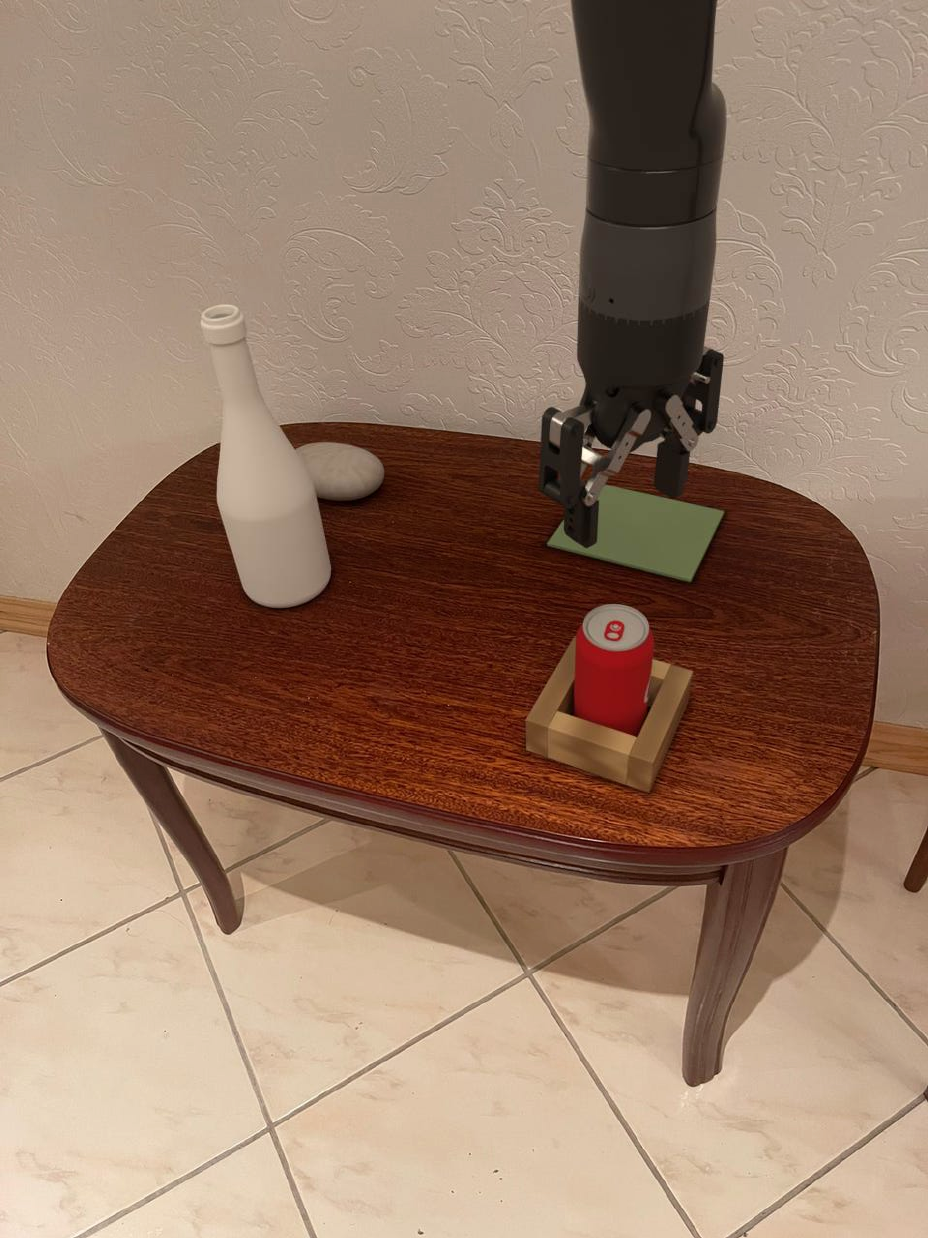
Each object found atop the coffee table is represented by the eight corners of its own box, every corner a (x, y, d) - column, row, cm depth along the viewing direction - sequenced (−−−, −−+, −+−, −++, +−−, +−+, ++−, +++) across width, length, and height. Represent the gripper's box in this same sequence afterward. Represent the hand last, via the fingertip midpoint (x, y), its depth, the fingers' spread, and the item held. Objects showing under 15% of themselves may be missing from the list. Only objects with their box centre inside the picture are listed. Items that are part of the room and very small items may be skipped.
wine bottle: (320, 546, 100) (263, 280, 79) (343, 596, 93) (287, 320, 73) (236, 569, 97) (156, 302, 77) (254, 622, 91) (171, 346, 70)
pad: (724, 513, 100) (724, 510, 99) (690, 582, 91) (691, 579, 91) (590, 483, 105) (590, 480, 105) (547, 545, 97) (547, 543, 97)
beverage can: (650, 707, 79) (663, 607, 71) (637, 760, 75) (648, 660, 67) (582, 693, 81) (586, 593, 73) (565, 744, 77) (567, 644, 68)
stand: (688, 701, 79) (693, 670, 77) (649, 793, 72) (653, 763, 70) (573, 666, 83) (574, 635, 81) (525, 750, 76) (525, 719, 74)
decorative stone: (271, 495, 108) (263, 460, 104) (316, 458, 113) (309, 424, 110) (357, 522, 102) (351, 486, 99) (400, 482, 108) (395, 447, 105)
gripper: (601, 347, 46) (590, 586, 57) (776, 269, 52) (736, 498, 63) (507, 305, 50) (514, 534, 61) (679, 237, 56) (656, 457, 67)
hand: (626, 516), depth 62 cm, fingers open, 8 cm apart
